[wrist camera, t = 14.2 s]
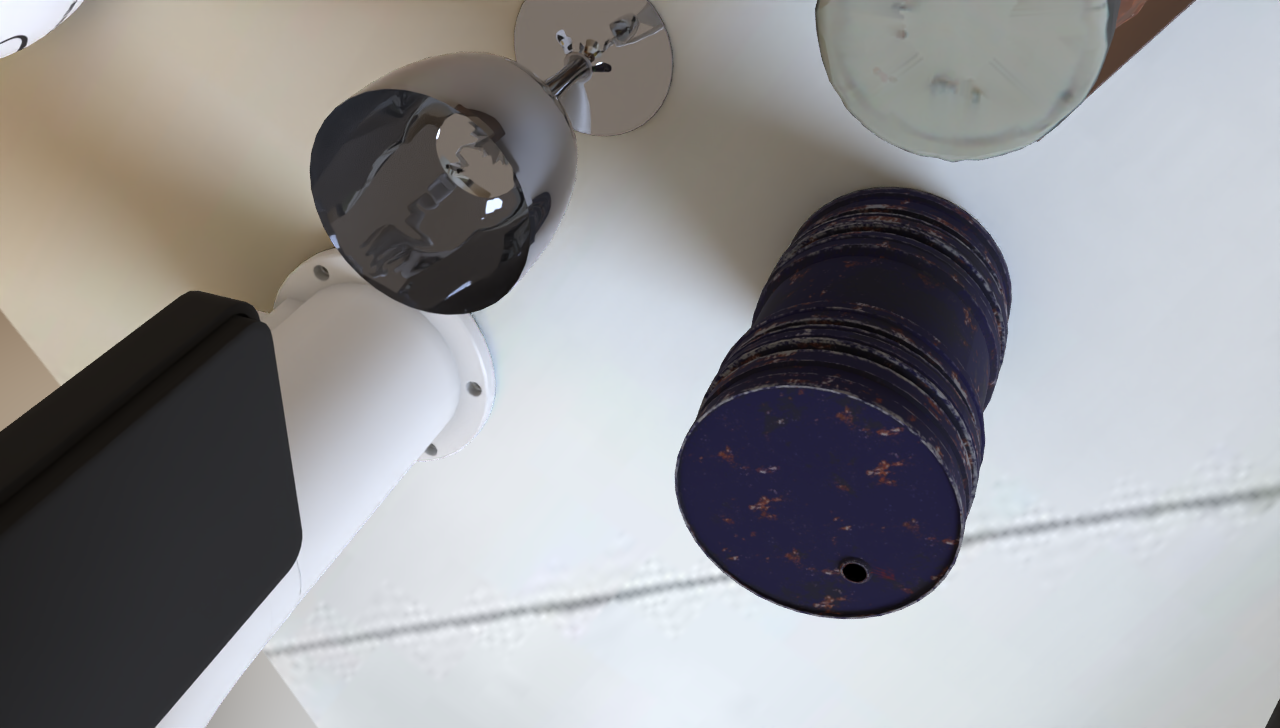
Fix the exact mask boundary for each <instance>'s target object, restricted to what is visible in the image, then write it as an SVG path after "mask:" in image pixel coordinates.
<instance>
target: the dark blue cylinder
mask: <svg viewBox="0 0 1280 728" xmlns="http://www.w3.org/2000/svg"><path fill="white" fill-rule="evenodd" d="M1011 301H1012V294H1011V281H1010V276H1009V272H1008V268H1007V265H1006V263H1005V260H1004V258H1003V256H1002V253H1001V251H1000V249H999V248H998V246H997V245H996V243H995V242H994V240H993V238H992V237H991V236H990V234H989V233H988V232H987V231H986V230H985V229H984V228H983V227H982V226H981V224H980V223H979V222H978V221H976V220H975V219H974V218H973V217H971V216H970V215H969V214H968V213H967V212H965V211H964V210H962V209H961V208H959V207H957V206H956V205H954V204H952V203H951V202H949V201H947V200H944V199H942V198H939V197H937V196H935V195H932V194H929V193H925V192H922V191H918V190H914V189H907V188H897V187H881V188H871V189H865V190H860V191H855V192H853V193H850V194H847V195H844V196H841V197H839V198H837V199H835V200H833V201H832V202H830V203H828V204H826V205H824V206H823V207H822V208H821V209H819V210H818V211H817V212H815V213H814V214H813V215H812V216H811V217H810V218H809V219H808V220H807V221H806V222H805V223H804V224H803V226H802V227H801V228H800V230H799V231H798V233H797V234H796V236H795V238H794V239H793V241H792V243H791V245H790V247H789V248H788V249H787V250H786V251H785V252H784V254H783V255H782V257H781V258H780V260H779V261H778V263H777V265H776V266H775V268H774V270H773V272H772V273H771V275H770V277H769V279H768V281H767V283H766V285H765V287H764V288H763V290H762V293H761V295H760V298H759V301H758V303H757V307H756V309H755V312H754V315H753V320H752V326H751V328H750V329H749V330H748V331H747V332H746V333H745V334H744V335H743V336H742V337H741V338H740V339H739V340H738V341H737V343H736V344H735V345H734V346H733V347H732V348H731V349H730V351H729V352H728V354H727V355H726V357H725V359H724V360H723V362H722V364H721V366H720V369H719V371H718V373H717V375H716V376H715V378H714V380H713V381H712V383H711V385H710V387H709V388H708V390H707V392H706V394H705V396H704V398H703V401H702V404H701V406H700V409H699V412H698V415H697V418H696V420H695V422H694V423H693V425H692V426H691V428H690V430H689V432H688V433H687V435H686V437H685V439H684V441H683V444H682V446H681V449H680V451H679V454H678V457H677V463H676V469H675V491H676V495H677V500H678V505H679V509H680V511H681V514H682V516H683V519H684V521H685V524H686V526H687V528H688V529H689V531H690V533H691V535H692V536H693V538H694V540H695V541H696V543H697V544H698V545H699V547H700V548H701V549H702V550H703V552H704V553H705V554H706V555H707V557H708V558H709V559H710V560H711V561H712V562H713V563H714V564H715V565H716V566H717V567H718V568H719V569H720V570H721V571H722V572H723V573H725V574H726V575H727V576H729V577H730V578H731V579H733V580H734V581H735V582H736V583H738V584H739V585H741V586H742V587H744V588H745V589H747V590H749V591H750V592H752V593H754V594H755V595H757V596H759V597H761V598H763V599H765V600H768V601H770V602H772V603H774V604H776V605H779V606H782V607H784V608H787V609H790V610H793V611H796V612H800V613H804V614H809V615H814V616H818V617H827V618H836V619H862V618H868V617H875V616H882V615H885V614H889V613H892V612H895V611H899V610H902V609H904V608H906V607H908V606H910V605H912V604H914V603H916V602H918V601H920V600H921V599H922V598H924V597H925V596H927V595H928V594H930V593H931V592H932V591H934V589H935V588H936V587H937V586H938V585H939V584H940V583H941V582H942V581H943V580H944V579H945V578H946V576H947V575H948V573H949V572H950V570H951V569H952V567H953V565H954V564H955V562H956V559H957V556H958V553H959V551H960V548H961V544H962V540H963V535H964V529H965V522H966V519H967V516H968V514H969V511H970V508H971V506H972V503H973V500H974V497H975V492H976V488H977V482H978V478H979V470H980V466H981V464H982V461H983V454H984V447H985V432H984V421H983V412H984V410H985V409H986V407H987V405H988V403H989V402H990V399H991V396H992V394H993V391H994V388H995V385H996V382H997V379H998V374H999V371H1000V368H1001V365H1002V362H1003V358H1004V353H1005V348H1006V341H1007V334H1008V324H1007V323H1008V319H1009V315H1010V308H1011Z"/></svg>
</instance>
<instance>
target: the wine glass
mask: <svg viewBox="0 0 1280 728" xmlns="http://www.w3.org/2000/svg"><path fill="white" fill-rule="evenodd" d="M514 48H515V56H516V61H517V62H515V61H513V60H511V59H508V58H506V57H503V56H500V55H495V54H491V53H485V52H456V53H449V54H444V55H438V56H433V57H428V58H425V59H422V60H420V61H417V62H414V63H411V64H408V65H406V66H403V67H401V68H398V69H395V70H393V71H391V72H389V73H387V74H386V75H384V76H382V77H380V78H378V79H377V80H375V81H373V82H371V83H370V84H368V85H367V86H365V87H364V88H363V89H361V90H360V91H358V92H357V93H355V94H354V95H352V96H351V97H349V98H348V99H346V100H345V101H344V102H342V103H341V104H340V105H338V106H337V107H336V108H335V109H334V110H333V111H332V112H331V114H330V115H329V116H328V117H327V118H326V119H325V120H324V122H323V124H322V126H321V128H320V129H319V131H318V133H317V135H316V138H315V142H314V145H313V148H312V152H311V162H310V179H311V190H312V194H313V198H314V202H315V206H316V209H317V212H318V214H319V217H320V219H321V222H322V224H323V227H324V229H325V230H326V232H327V234H328V236H329V237H330V239H331V241H332V243H333V245H334V246H335V247H336V249H337V250H338V251H339V253H340V254H341V255H342V257H343V258H344V259H345V261H346V262H347V263H348V264H349V265H350V266H351V267H352V268H353V269H354V270H355V271H356V272H357V273H358V274H359V275H360V276H361V277H362V278H363V279H364V280H366V281H367V282H368V283H369V284H371V285H372V286H373V287H374V288H376V289H377V290H378V291H380V292H382V293H383V294H385V295H387V296H388V297H390V298H391V299H393V300H395V301H397V302H400V303H402V304H404V305H406V306H409V307H411V308H414V309H418V310H421V311H425V312H428V313H435V314H443V315H457V314H467V313H471V312H475V311H479V310H482V309H484V308H486V307H488V306H490V305H492V304H494V303H496V302H497V301H499V300H500V299H501V298H502V297H503V296H505V295H506V294H507V293H508V292H510V291H511V290H512V289H513V288H514V287H515V286H516V285H517V283H518V282H519V281H520V280H521V279H522V278H523V277H524V276H525V275H526V273H527V272H528V271H529V270H530V268H531V267H532V266H533V265H534V263H535V262H536V261H537V259H538V258H539V257H540V255H541V254H542V253H543V251H544V250H545V249H546V248H547V246H548V245H549V244H550V242H551V240H552V238H553V236H554V234H555V232H556V231H557V229H558V227H559V225H560V223H561V221H562V219H563V217H564V215H565V213H566V210H567V208H568V205H569V202H570V199H571V196H572V193H573V189H574V185H575V181H576V175H577V162H578V151H577V142H576V137H575V133H574V130H576V131H579V132H582V133H586V134H590V135H598V136H612V135H620V134H623V133H626V132H629V131H633V130H634V129H636V128H638V127H640V126H642V125H643V124H645V123H646V122H647V121H648V120H649V119H651V118H652V117H653V116H654V115H655V113H656V112H657V111H658V110H659V108H660V107H661V106H662V104H663V102H664V100H665V98H666V96H667V94H668V91H669V88H670V84H671V81H672V73H673V54H672V47H671V43H670V39H669V35H668V33H667V30H666V28H665V25H664V23H663V21H662V19H661V18H660V16H659V14H658V13H657V11H656V9H655V8H654V6H653V5H652V4H651V3H650V2H649V1H648V0H525V1H524V3H523V4H522V6H521V9H520V11H519V14H518V17H517V21H516V26H515V31H514ZM573 129H574V130H573Z"/></svg>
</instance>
